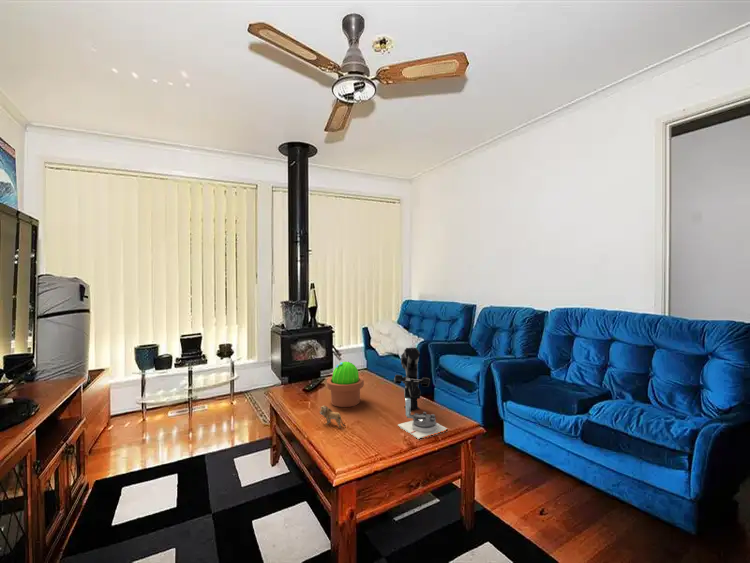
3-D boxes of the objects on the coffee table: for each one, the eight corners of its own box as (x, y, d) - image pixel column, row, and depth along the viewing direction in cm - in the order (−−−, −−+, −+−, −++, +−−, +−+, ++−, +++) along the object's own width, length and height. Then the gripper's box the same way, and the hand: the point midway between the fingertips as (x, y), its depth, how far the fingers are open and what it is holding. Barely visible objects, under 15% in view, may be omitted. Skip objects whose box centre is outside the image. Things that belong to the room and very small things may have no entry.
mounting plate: (397, 426, 178) (397, 420, 178) (426, 418, 187) (426, 413, 187) (418, 440, 163) (418, 433, 163) (447, 430, 172) (447, 424, 172)
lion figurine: (318, 424, 182) (317, 407, 181) (323, 420, 187) (323, 403, 186) (343, 429, 176) (342, 411, 176) (348, 424, 181) (347, 407, 181)
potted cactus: (366, 396, 222) (365, 356, 222) (361, 409, 200) (360, 365, 200) (331, 395, 224) (331, 356, 224) (323, 408, 203) (322, 365, 202)
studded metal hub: (435, 419, 179) (435, 395, 179) (435, 428, 168) (435, 404, 168) (406, 417, 181) (406, 394, 181) (404, 426, 170) (404, 402, 170)
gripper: (426, 376, 200) (426, 403, 190) (394, 373, 200) (392, 400, 190) (430, 367, 191) (430, 395, 181) (395, 364, 192) (394, 391, 182)
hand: (411, 396), depth 184 cm, fingers closed
